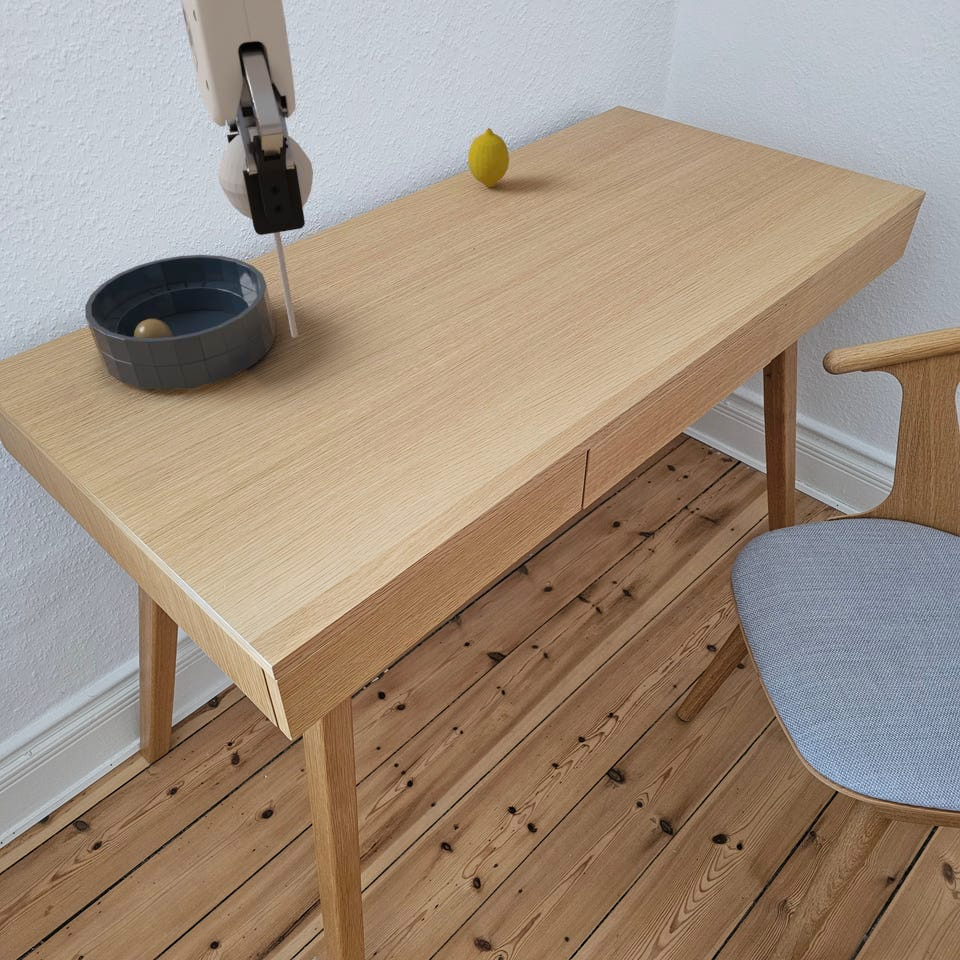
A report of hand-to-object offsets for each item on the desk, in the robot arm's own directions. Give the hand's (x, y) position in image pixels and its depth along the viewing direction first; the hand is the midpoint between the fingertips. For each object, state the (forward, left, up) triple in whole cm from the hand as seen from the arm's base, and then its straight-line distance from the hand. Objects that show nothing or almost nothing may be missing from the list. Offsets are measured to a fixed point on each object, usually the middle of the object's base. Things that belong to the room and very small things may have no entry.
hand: (270, 207), depth 57 cm
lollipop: (0, 0, -10) cm, 10 cm away
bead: (-11, +24, -21) cm, 33 cm away
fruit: (+35, +51, -23) cm, 66 cm away
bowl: (-8, +24, -23) cm, 35 cm away
